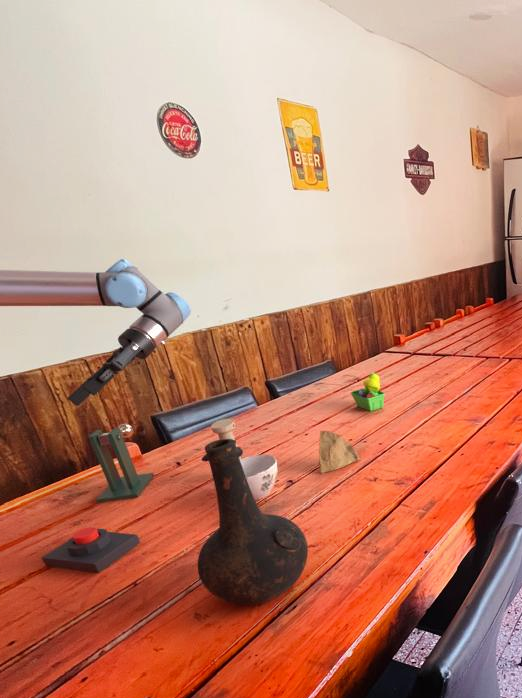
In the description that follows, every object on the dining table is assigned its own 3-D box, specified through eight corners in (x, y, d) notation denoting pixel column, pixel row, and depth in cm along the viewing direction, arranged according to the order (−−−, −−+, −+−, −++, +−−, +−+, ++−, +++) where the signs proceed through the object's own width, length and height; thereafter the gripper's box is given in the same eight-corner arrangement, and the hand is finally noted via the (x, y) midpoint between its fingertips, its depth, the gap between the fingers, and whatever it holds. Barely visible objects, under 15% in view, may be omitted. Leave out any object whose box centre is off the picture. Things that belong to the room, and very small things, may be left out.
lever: (122, 436, 134) (118, 423, 133) (137, 435, 135) (133, 421, 134) (97, 448, 122) (93, 433, 121) (114, 446, 122) (110, 431, 121)
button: (70, 544, 101) (66, 537, 100) (88, 533, 104) (85, 526, 103) (86, 546, 100) (83, 539, 99) (104, 535, 103) (101, 527, 102)
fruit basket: (351, 406, 178) (346, 374, 173) (373, 399, 184) (368, 369, 179) (369, 413, 171) (364, 380, 166) (391, 406, 176) (386, 374, 171)
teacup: (244, 482, 129) (235, 454, 125) (292, 482, 128) (285, 453, 125) (212, 514, 116) (202, 483, 112) (265, 513, 115) (257, 482, 111)
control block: (45, 566, 100) (36, 549, 99) (90, 537, 109) (83, 522, 107) (98, 573, 98) (90, 556, 96) (140, 543, 106) (134, 527, 105)
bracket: (117, 481, 133) (94, 425, 126) (154, 476, 135) (133, 420, 128) (97, 504, 123) (70, 444, 116) (138, 498, 124) (114, 438, 118)
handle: (224, 483, 129) (207, 429, 122) (232, 472, 135) (217, 419, 128) (243, 482, 129) (228, 427, 123) (251, 470, 135) (236, 418, 128)
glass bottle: (283, 625, 82) (238, 471, 70) (185, 616, 85) (126, 467, 73) (331, 558, 98) (301, 423, 86) (247, 553, 101) (206, 421, 89)
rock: (361, 445, 141) (324, 444, 140) (359, 429, 133) (319, 427, 132) (358, 481, 136) (319, 479, 135) (355, 466, 128) (314, 465, 127)
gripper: (173, 337, 126) (111, 398, 115) (138, 360, 142) (81, 415, 131) (145, 313, 122) (79, 374, 111) (113, 340, 138) (51, 395, 127)
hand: (80, 397), depth 121 cm, fingers open, 13 cm apart
